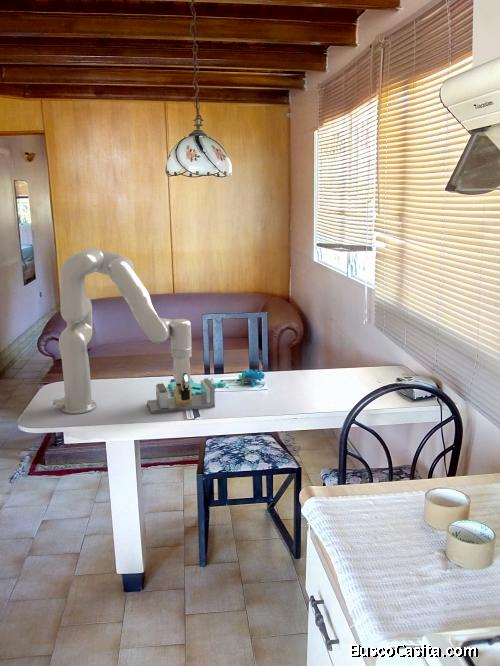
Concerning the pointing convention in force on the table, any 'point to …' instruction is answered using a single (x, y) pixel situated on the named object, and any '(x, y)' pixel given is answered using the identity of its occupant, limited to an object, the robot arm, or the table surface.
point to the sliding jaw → (162, 396)
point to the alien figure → (195, 387)
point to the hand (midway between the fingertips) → (183, 395)
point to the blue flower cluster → (251, 376)
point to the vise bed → (197, 403)
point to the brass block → (178, 395)
